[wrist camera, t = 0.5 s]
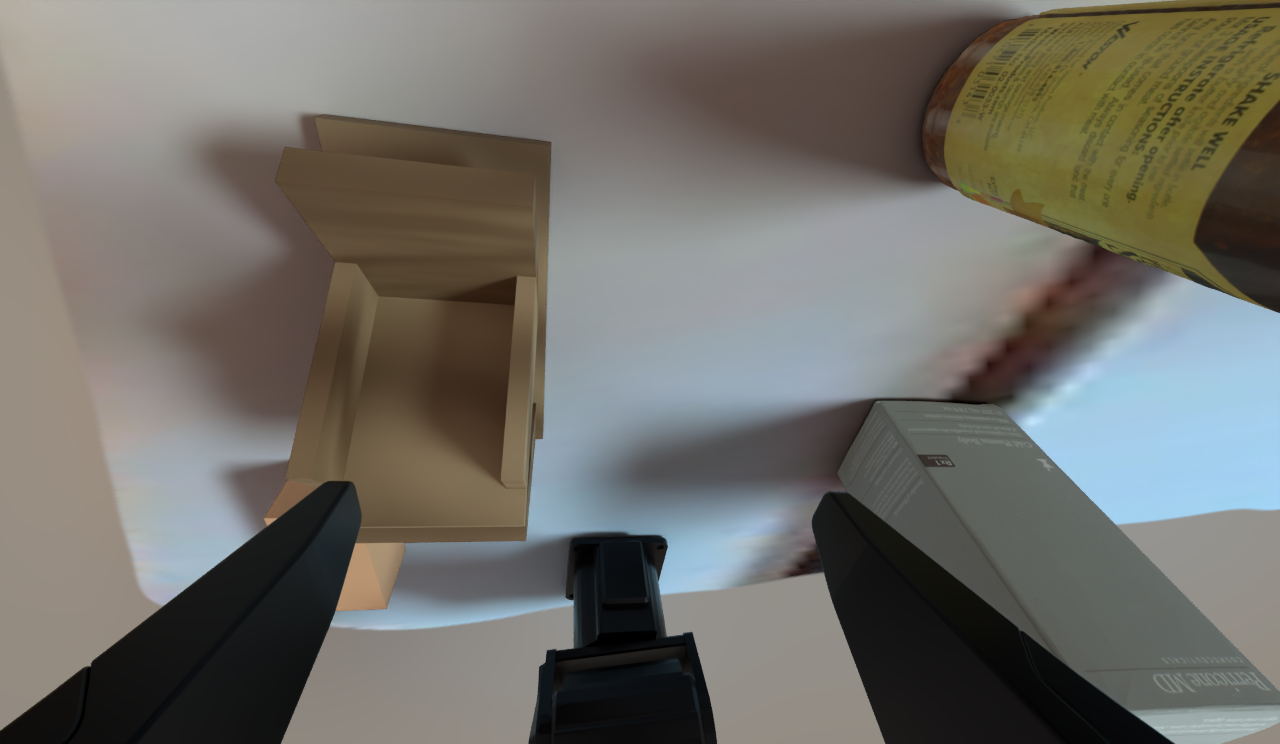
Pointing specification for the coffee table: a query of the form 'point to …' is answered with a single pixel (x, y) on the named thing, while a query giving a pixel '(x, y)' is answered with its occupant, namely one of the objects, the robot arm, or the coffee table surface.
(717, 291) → the coffee table surface
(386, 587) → the peg
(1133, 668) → the skincare box
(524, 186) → the cradle
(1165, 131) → the sauce bottle
